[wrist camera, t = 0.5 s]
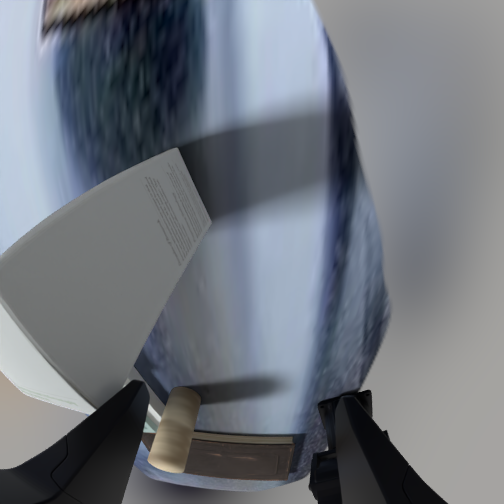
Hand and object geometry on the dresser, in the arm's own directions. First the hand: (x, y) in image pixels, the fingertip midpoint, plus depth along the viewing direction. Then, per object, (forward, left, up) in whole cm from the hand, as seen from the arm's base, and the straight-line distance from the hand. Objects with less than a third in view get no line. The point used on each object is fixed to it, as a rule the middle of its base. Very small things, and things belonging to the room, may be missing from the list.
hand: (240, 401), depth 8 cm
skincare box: (+6, +6, -14) cm, 16 cm away
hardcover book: (-32, +17, -16) cm, 40 cm away
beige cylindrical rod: (-16, +14, -15) cm, 26 cm away
